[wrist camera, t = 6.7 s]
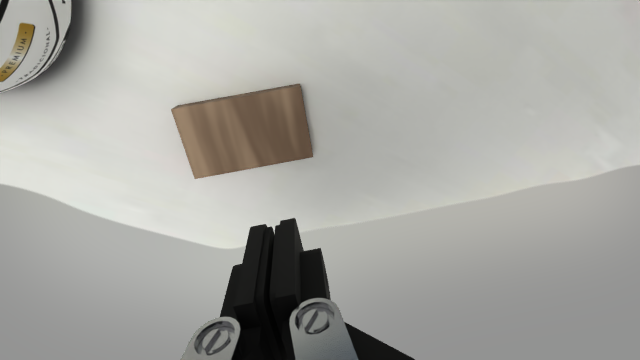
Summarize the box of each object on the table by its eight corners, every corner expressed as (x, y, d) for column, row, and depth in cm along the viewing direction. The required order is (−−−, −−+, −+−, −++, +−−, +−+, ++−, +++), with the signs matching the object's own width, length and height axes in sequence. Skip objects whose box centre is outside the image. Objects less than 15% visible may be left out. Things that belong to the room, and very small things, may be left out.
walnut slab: (300, 86, 30) (171, 109, 30) (313, 157, 33) (194, 178, 33) (299, 83, 33) (179, 104, 32) (311, 149, 35) (200, 170, 35)
